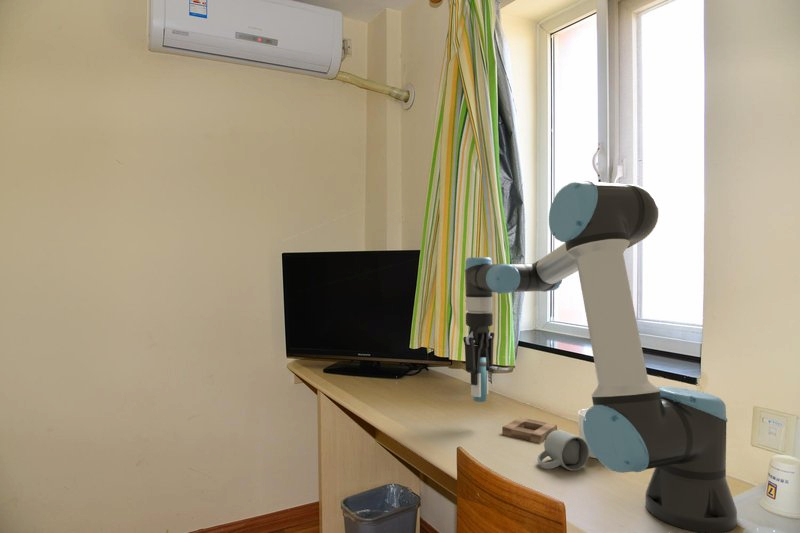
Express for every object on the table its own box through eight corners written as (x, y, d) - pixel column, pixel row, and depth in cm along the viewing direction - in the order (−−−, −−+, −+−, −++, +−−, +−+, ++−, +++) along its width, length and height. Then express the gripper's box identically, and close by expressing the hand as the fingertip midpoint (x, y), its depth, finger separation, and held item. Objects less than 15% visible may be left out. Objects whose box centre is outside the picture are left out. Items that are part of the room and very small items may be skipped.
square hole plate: (540, 443, 136) (540, 435, 136) (502, 434, 143) (502, 427, 143) (556, 431, 145) (556, 424, 145) (520, 424, 152) (520, 417, 152)
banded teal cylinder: (482, 402, 145) (482, 359, 145) (470, 400, 147) (470, 358, 147) (489, 399, 148) (488, 357, 148) (477, 397, 150) (477, 356, 150)
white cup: (590, 461, 124) (590, 419, 124) (571, 449, 132) (571, 410, 131) (619, 457, 126) (619, 416, 126) (598, 446, 134) (598, 407, 134)
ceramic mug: (567, 455, 128) (567, 424, 127) (590, 468, 120) (589, 435, 120) (530, 462, 124) (529, 430, 124) (550, 475, 116) (550, 441, 116)
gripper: (482, 309, 156) (482, 387, 156) (451, 313, 143) (452, 398, 144) (504, 310, 152) (505, 390, 152) (475, 314, 139) (476, 403, 139)
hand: (479, 394), depth 148 cm, fingers closed on banded teal cylinder, 3 cm apart
